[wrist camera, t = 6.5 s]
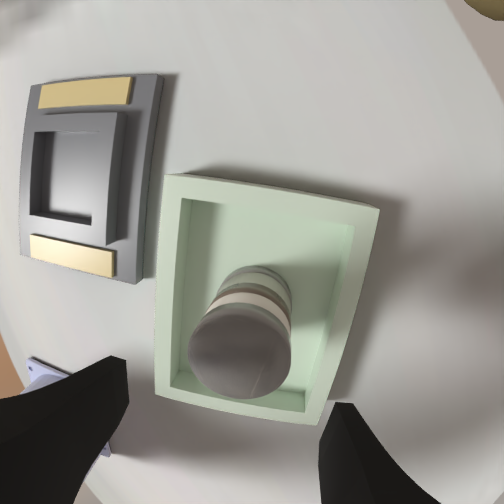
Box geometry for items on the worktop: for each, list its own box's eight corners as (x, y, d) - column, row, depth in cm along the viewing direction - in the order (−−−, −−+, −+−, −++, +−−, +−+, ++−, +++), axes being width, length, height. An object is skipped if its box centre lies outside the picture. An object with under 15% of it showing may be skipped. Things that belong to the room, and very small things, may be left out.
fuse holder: (142, 279, 19) (126, 291, 17) (29, 251, 20) (9, 259, 18) (164, 78, 16) (148, 68, 14) (40, 87, 17) (19, 83, 15)
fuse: (288, 335, 18) (286, 403, 12) (218, 329, 19) (190, 392, 13) (294, 268, 17) (295, 317, 11) (218, 262, 18) (184, 307, 12)
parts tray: (315, 400, 20) (316, 425, 18) (167, 372, 21) (154, 394, 18) (367, 203, 16) (379, 209, 14) (181, 173, 17) (164, 174, 15)
